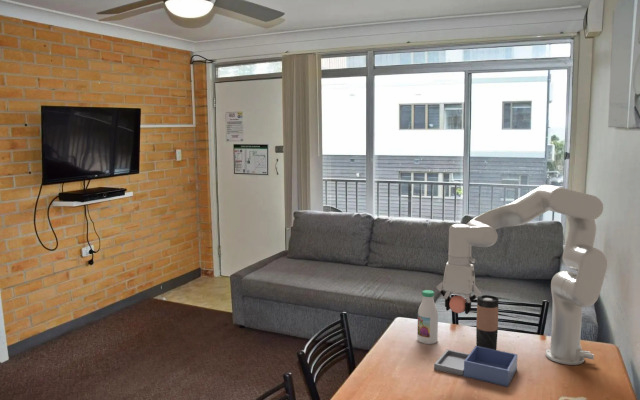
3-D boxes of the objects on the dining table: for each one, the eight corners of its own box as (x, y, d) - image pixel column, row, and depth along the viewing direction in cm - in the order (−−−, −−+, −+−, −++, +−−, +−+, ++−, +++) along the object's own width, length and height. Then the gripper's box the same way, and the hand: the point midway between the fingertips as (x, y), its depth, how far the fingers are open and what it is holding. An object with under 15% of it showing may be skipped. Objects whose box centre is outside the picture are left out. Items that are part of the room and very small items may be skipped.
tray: (474, 360, 185) (474, 355, 185) (462, 376, 173) (463, 370, 173) (446, 354, 190) (447, 349, 190) (434, 369, 178) (434, 363, 178)
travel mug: (498, 354, 189) (500, 302, 187) (476, 353, 191) (478, 300, 188) (495, 346, 197) (497, 295, 194) (474, 344, 198) (476, 294, 196)
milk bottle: (430, 335, 208) (431, 287, 205) (441, 343, 200) (442, 293, 198) (413, 338, 205) (414, 289, 202) (423, 345, 198) (424, 295, 195)
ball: (468, 311, 180) (469, 294, 179) (464, 316, 174) (464, 299, 174) (451, 308, 183) (452, 292, 182) (446, 313, 178) (447, 297, 177)
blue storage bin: (516, 369, 177) (517, 354, 177) (507, 387, 165) (508, 370, 165) (475, 360, 185) (475, 345, 184) (463, 376, 173) (464, 360, 172)
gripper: (487, 261, 175) (485, 312, 177) (438, 255, 184) (436, 303, 186) (482, 266, 169) (480, 319, 171) (431, 259, 177) (430, 310, 180)
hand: (457, 310), depth 178 cm, fingers closed on ball, 5 cm apart
